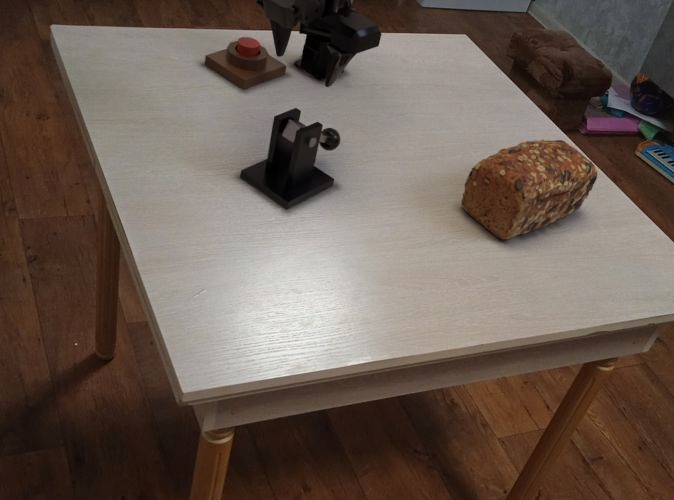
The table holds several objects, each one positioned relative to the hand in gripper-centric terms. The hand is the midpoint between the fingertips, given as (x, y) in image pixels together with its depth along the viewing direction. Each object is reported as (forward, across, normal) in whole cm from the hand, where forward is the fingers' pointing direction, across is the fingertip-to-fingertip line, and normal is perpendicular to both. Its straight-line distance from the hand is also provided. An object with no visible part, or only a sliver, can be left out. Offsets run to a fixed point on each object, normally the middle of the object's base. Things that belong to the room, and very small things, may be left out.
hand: (303, 70), depth 114 cm
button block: (+13, -21, +11) cm, 27 cm away
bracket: (+13, +6, -6) cm, 15 cm away
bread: (+13, +30, +19) cm, 38 cm away
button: (+10, -21, +11) cm, 26 cm away
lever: (+8, +5, -3) cm, 10 cm away
